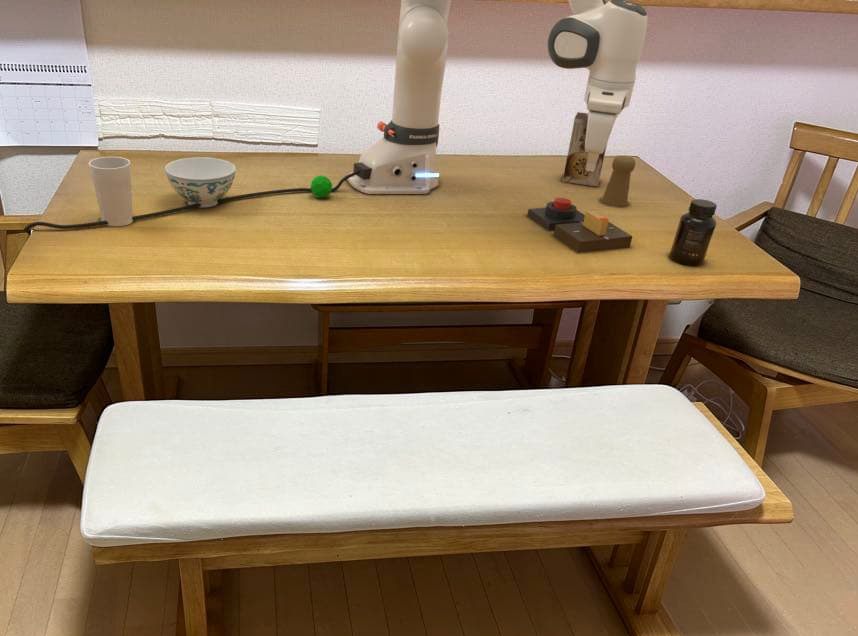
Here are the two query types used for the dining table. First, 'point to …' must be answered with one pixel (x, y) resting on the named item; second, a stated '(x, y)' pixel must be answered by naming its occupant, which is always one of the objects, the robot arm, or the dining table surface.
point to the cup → (113, 189)
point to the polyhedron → (321, 186)
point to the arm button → (562, 203)
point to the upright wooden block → (595, 223)
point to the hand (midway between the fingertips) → (592, 164)
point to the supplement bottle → (694, 233)
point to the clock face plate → (591, 237)
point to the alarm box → (555, 216)
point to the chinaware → (201, 179)
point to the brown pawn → (619, 182)
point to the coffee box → (581, 156)
